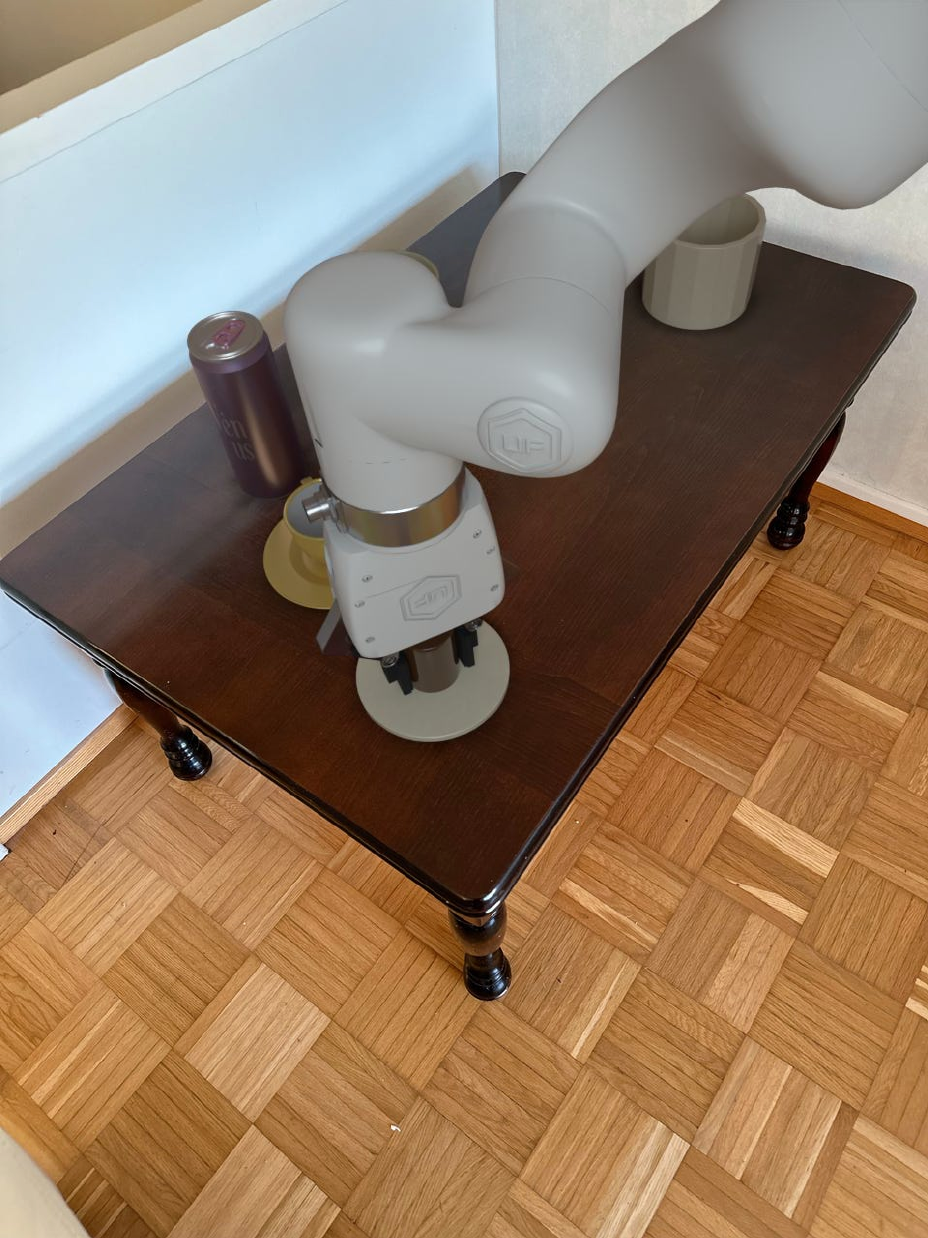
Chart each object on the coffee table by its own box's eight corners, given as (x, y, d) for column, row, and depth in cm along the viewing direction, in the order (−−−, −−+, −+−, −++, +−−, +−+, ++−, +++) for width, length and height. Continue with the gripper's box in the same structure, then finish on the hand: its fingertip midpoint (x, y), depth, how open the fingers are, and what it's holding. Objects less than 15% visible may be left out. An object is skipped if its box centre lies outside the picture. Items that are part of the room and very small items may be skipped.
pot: (743, 265, 91) (759, 183, 84) (753, 329, 85) (771, 247, 78) (640, 266, 92) (648, 185, 85) (642, 330, 86) (651, 249, 79)
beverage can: (321, 464, 79) (280, 318, 67) (285, 512, 76) (236, 368, 64) (263, 447, 81) (213, 301, 68) (226, 493, 78) (167, 349, 65)
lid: (514, 617, 68) (511, 561, 62) (505, 749, 62) (501, 700, 56) (370, 613, 69) (355, 558, 64) (347, 742, 63) (328, 693, 57)
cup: (438, 571, 71) (431, 525, 67) (297, 636, 68) (280, 593, 64) (374, 477, 77) (364, 429, 73) (243, 533, 75) (224, 487, 70)
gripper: (272, 591, 45) (339, 756, 60) (567, 473, 49) (561, 658, 63) (230, 494, 50) (303, 671, 64) (504, 391, 53) (513, 583, 68)
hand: (431, 663), depth 64 cm, fingers closed on lid, 4 cm apart
